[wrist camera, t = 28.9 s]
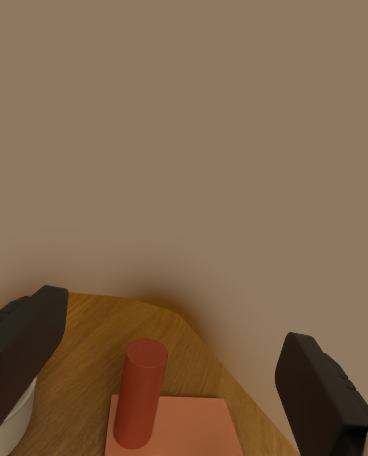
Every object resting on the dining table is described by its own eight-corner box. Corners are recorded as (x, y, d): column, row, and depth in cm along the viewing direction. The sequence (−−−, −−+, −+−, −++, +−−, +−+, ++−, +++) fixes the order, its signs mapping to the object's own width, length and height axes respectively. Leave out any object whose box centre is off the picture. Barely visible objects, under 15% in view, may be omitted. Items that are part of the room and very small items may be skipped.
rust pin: (151, 413, 36) (166, 339, 34) (152, 450, 32) (170, 368, 29) (114, 412, 35) (127, 336, 33) (110, 450, 31) (124, 366, 28)
